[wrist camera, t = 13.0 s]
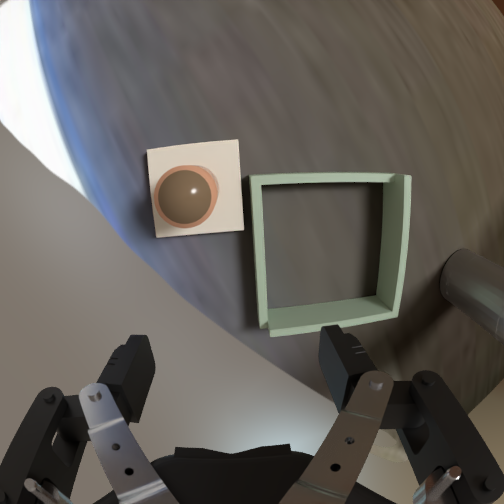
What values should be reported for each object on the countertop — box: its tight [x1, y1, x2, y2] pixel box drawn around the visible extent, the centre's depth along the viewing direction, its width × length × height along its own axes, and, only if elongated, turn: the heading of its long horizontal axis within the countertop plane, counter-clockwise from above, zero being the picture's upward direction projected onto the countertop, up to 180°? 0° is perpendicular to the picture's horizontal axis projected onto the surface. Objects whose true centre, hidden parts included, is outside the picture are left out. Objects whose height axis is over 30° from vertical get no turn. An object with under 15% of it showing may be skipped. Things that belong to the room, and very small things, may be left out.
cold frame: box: [249, 172, 411, 337], centre depth 32 cm, size 18×18×5 cm
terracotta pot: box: [154, 165, 219, 228], centre depth 27 cm, size 5×5×7 cm
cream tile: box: [147, 140, 244, 238], centre depth 31 cm, size 10×10×2 cm
